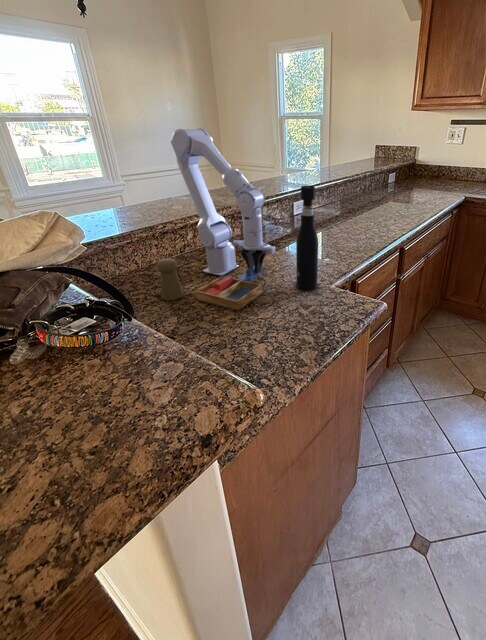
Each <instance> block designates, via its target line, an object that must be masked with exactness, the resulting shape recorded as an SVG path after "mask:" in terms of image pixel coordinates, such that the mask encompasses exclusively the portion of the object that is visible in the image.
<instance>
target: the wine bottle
mask: <svg viewBox="0 0 486 640" xmlns="http://www.w3.org/2000/svg"><path fill="white" fill-rule="evenodd" d="M315 199H316V186H314V185H301V186H300V200H302V203H303V204H302V208H301V215H300V226H299V229H298V231H297V236H296V241H295V242H296V243H295V246H296V248H295V249H296V250H295V251H296V253H295V255H296V259H295V260H296V269H295V271H296V288H297V290H300V291H306V292H310V291H313V290H316V289H317V288H318V271H319V270H318V269H319V268H318V264H319V238H318V232H317V229H316V227H315V214H314V208H313V200H315Z"/></svg>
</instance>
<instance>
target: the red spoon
mask: <svg viewBox="0 0 486 640" xmlns="http://www.w3.org/2000/svg"><path fill="white" fill-rule="evenodd" d="M233 278H234V276H231V275H226V277H225V278H223V279H221V280H220V281H218V282H216V283H214V286H215V288H210V289H208V290H206V291H205V293H209V294H213V295H218V294H219V293H221V292H223V291H224V290H226V289H227V288H229V287H231V286H232V285H234V284H233Z"/></svg>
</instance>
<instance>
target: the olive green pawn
mask: <svg viewBox="0 0 486 640" xmlns="http://www.w3.org/2000/svg"><path fill="white" fill-rule="evenodd" d="M156 267H157V271H158V272H160V295H161V299H162V300H164V301H174V300H178V299H181V298H182V297H183V296H184V290H183V287H182V285H181V281H180V279H179V276H178V272H177V269H178V262H177V261H176V260H175V259H173V258H163V259H162V258H161V259H160V260H159V261H157V264H156Z"/></svg>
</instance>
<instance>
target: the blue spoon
mask: <svg viewBox="0 0 486 640" xmlns="http://www.w3.org/2000/svg"><path fill="white" fill-rule="evenodd" d="M262 274H263V265H262V266H261V271H260V272H259V273H255V265H254V266H252V267H251V268H249V269H248V268H247V269H246V270H245V273H244V274H240V275H238V277H237V279H239V280H243V281H248V282H252V283H254V279H255V278H256V277H258V276H260V275H262Z"/></svg>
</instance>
